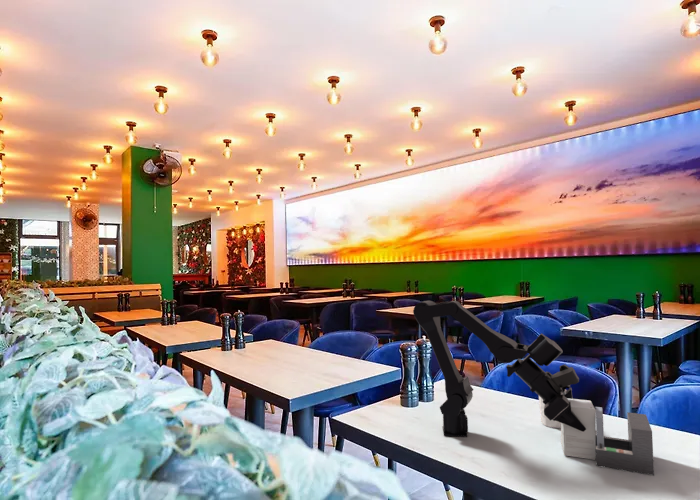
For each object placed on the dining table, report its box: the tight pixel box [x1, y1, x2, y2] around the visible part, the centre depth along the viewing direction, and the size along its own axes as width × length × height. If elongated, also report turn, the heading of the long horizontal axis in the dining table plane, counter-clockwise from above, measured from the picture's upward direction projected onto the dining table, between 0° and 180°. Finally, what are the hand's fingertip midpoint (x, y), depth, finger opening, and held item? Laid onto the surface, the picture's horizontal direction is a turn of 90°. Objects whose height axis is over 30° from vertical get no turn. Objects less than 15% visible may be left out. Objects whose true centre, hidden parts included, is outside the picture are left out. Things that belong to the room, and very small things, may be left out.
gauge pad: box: [595, 406, 605, 448], centre depth 110 cm, size 2×10×10 cm, turn 152°
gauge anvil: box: [595, 412, 655, 476], centre depth 108 cm, size 12×12×10 cm
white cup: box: [538, 395, 561, 429], centre depth 133 cm, size 8×8×10 cm
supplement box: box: [560, 398, 597, 461], centre depth 113 cm, size 7×7×13 cm
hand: (584, 424), depth 112 cm, fingers open, 9 cm apart
